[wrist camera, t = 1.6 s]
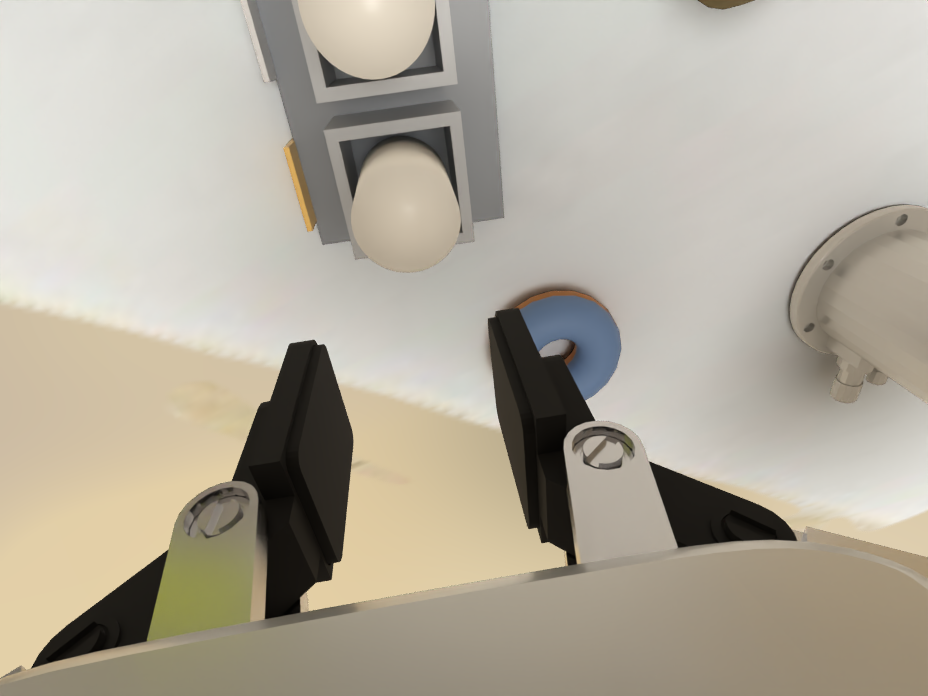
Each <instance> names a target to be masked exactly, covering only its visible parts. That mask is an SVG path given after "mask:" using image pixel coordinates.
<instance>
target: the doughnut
mask: <svg viewBox="0 0 928 696" xmlns="http://www.w3.org/2000/svg"><path fill="white" fill-rule="evenodd" d="M515 308H519V310H520V312H521V314H522V316H523V318H524V321H525V323H526V325H527V327H528V330H529V332H530V334H531V336H532V338H533V341H534V343H535V345H536V347H537V350H538V352H539V351H540V350H541V349H542V348H543V347H544V346H545V345H547V344H548V343H550V342H552V341H556V340H559V339H568V340H571V341H573V342H574V343H575V348H574V350H573V351H572V353H571V354H570V355H569V356H568V357H567V358H566V359H564V361H565V363H566V365H567V367H568V369H569V371H570V373H571V375H572V377H573V379H574V380H575V382H576V384H577V386H578V388H579V390H580V392H581V394H582V396H583V398H584V400H587V399H588V398H590V397H592V396H594V395H595V394H596V393H597V392H598V391H599V390H600V389H601V388H602V387H603V386H605V385H606V384H607V383H608V381H609V379H610V378H611V376H612V375H613V373H614V371H615V370H616V368H617V364H618V360H619V356H620V352H621V341H620V333H619V330H618V327H617V325H616V323H615V321H614V319H613V318H612V316H611V314H610V313H609V311H608V309H607V308H605V307H604V306H603V305H601V304H600V303H599V302H598V301H596V300H595V299H594V298H592V297H591V296H588V295H585V294H582V293H578V292H575V291H549V292H546V293H543V294H539V295H536V296H533V297H531V298H529V299H527V300H526V301H524V302H523V303H521V304H520V305H518V306H516V307H515Z"/></svg>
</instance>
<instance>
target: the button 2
mask: <svg viewBox="0 0 928 696" xmlns="http://www.w3.org/2000/svg"><path fill="white" fill-rule="evenodd" d="M460 224H461V215H460V209H459V205H458V202H457V199H456V196H455V194H454V191H453V188H452V186H451V183H450V180H449V178H448V175H447V172H446V169H445V167H444V164H443V162H442V160H441V158H440V157H439V155H438V154H437V153H436V151H435V150H434V149H433V148H432V147H431V146H429V145H428V144H427V143H425V142H423V141H421V140H419V139H417V138H414V137H409V136H395V137H390V138H388V139H385V140H383V141H381V142H379V143H378V144H377V145H375V146H374V147H373V148H372V149H371V150H370V152H369V153H368V154H367V156H366V158H365V159H364V162H363V164H362V168H361V172H360V176H359V180H358V184H357V188H356V193H355V197H354V201H353V205H352V209H351V226H352V231H353V234H354V237H355V239H356V241H357V243H358V245H359V247H360V248H361V250H362V251H363V252H364V253H365V255H367V256H368V257H369V258H370V259H371V260H372V261H374V262H375V263H376V264H378V265H380V266H382V267H384V268H386V269H389V270H392V271H396V272H406V273H410V272H418V271H422V270H425V269H428V268H430V267H432V266H434V265H436V264H437V263H439V262H440V261H441V260H443V259H444V258H445V257H446V256H447V255H448V254H449V252H450V251H451V250H452V248H453V247H454V245H455V243H456V241H457V238H458V235H459V231H460Z"/></svg>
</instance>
